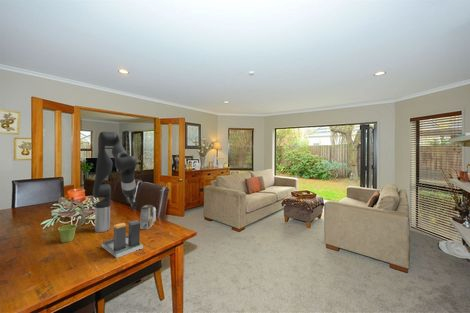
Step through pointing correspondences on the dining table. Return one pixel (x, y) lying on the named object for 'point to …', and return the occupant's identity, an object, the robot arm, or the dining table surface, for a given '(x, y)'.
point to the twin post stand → (131, 241)
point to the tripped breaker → (119, 236)
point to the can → (154, 214)
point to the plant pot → (67, 233)
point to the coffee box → (146, 217)
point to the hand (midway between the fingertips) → (131, 205)
